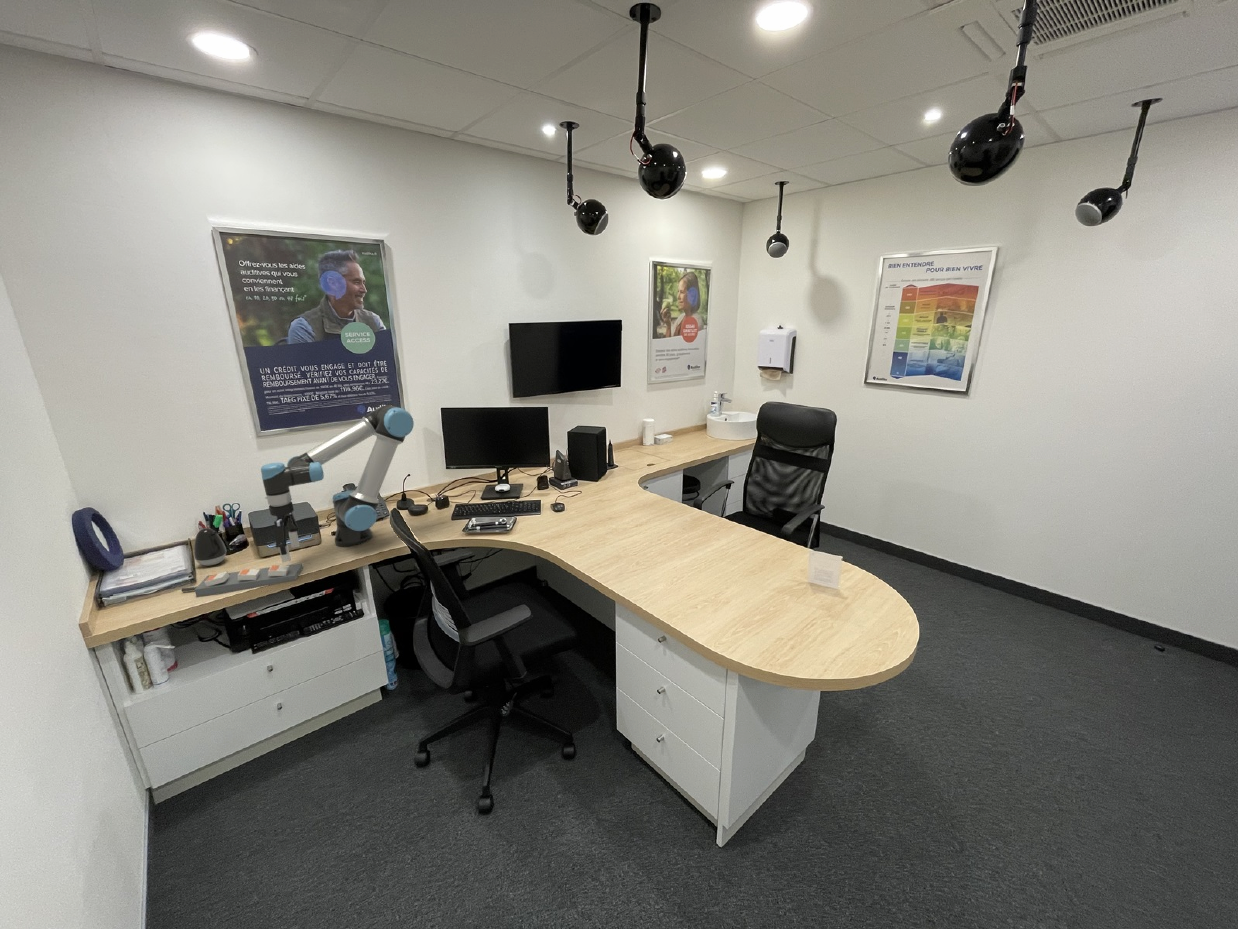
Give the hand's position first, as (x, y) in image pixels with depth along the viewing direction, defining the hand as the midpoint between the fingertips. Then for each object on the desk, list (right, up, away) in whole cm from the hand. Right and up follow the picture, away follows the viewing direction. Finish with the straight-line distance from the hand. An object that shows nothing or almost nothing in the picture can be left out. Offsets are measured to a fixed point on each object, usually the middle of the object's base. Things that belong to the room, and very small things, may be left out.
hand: (291, 553), depth 192 cm
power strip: (-13, -10, -8) cm, 18 cm away
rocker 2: (-9, -7, -10) cm, 15 cm away
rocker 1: (-18, -8, -13) cm, 24 cm away
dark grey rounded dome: (-38, -6, +9) cm, 40 cm away
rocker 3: (0, -6, -7) cm, 9 cm away
